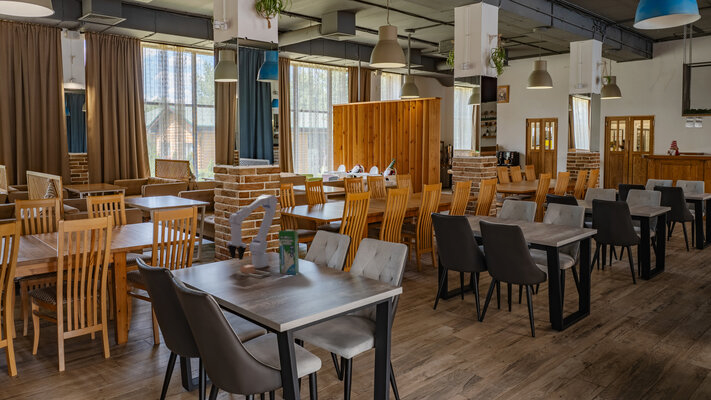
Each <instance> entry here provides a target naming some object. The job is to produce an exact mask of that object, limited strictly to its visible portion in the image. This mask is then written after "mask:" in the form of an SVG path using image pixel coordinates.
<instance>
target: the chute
mask: <svg viewBox="0 0 711 400" xmlns="http://www.w3.org/2000/svg"><path fill="white" fill-rule="evenodd" d="M236 274H237V275H239V276H246V277H251V278H256V279H262V278H267V277H269V276H272V272H269V271H262V270H258V269H255V273H252V274H250V273H245V272H241V270H240V271H239V270H238V271H236ZM258 274H259V275H258Z"/></svg>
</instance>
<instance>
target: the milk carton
mask: <svg viewBox="0 0 711 400" xmlns="http://www.w3.org/2000/svg"><path fill="white" fill-rule="evenodd" d="M278 255H279V256H278V257H279V258H278V259H279V260H278V261H279V274H286V276H296V275H297V274H298V273H299V272H300V269H299V266H300V265H299V264H300V263H299V261H300V258H299V232H298V231H296V230H293V229H290V228H289V229H288V228H287V229H285V230H278Z"/></svg>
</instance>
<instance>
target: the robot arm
mask: <svg viewBox="0 0 711 400" xmlns="http://www.w3.org/2000/svg"><path fill="white" fill-rule="evenodd" d="M277 204H278V199H277V197H276V195H274V194H272V195H271V194H260V196H258V197H257V199H255V200H254V201H253V202H252V203H250V204H249V205H248V206H247V205H246V206H242V207H241V208H240V209H239V210H237V211H235V213H231V214H230V215H229V217H228V223H229V225H230V236H231V237H230V240H229V241H226V245H227V247H226V248H227V250H228V251H229V255H230V256H231V259H236V252H237V254H238V255H237V256H238V260H240V261H241V260H243V259H244V254H245V252H246V250H247V246H248V250H249V251H250V253H251V265H253V266H255V269H262V268H265V267H268V266H269V265H270V264H269V263H270V262H269V254H268V253H267V248H268V241H267V237H268V234H269V231H270V228H271V227H272V223H273V220H274V217H275V215H276V211H277ZM261 206H262V208H263V209H264V210H265V213H264V215H263V218H262V220H261V224H260V227H259V229H258V231H257V235H256V236H255V237H253V238H252V240H251V242H250V243H249V245H247V243H244V242H243V241H242V239H243V237H242V224H243V222H244V220H245V219H246V218H247V217H249V216H251V214H252V212H253V211H254V210H256V209H258V208H259V207H261Z"/></svg>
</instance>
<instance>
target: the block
mask: <svg viewBox="0 0 711 400" xmlns="http://www.w3.org/2000/svg"><path fill="white" fill-rule="evenodd" d="M239 269H240V272H245V273H250V274H256V273H255V270H256V268H255V266H253V265H252V264H246V265H242V266H240V268H239Z"/></svg>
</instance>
